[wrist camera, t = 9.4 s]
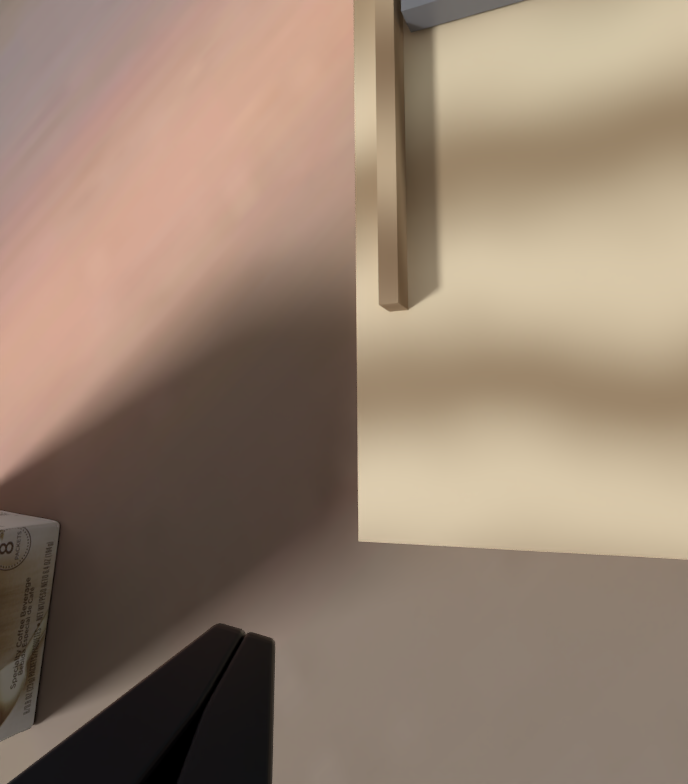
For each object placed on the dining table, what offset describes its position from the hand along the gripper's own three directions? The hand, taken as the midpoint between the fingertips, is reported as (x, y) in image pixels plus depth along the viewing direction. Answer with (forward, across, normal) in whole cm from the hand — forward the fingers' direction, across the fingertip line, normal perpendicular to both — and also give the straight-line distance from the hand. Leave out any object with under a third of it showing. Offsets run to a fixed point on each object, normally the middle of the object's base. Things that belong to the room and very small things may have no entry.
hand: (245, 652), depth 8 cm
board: (+15, -5, -5) cm, 17 cm away
